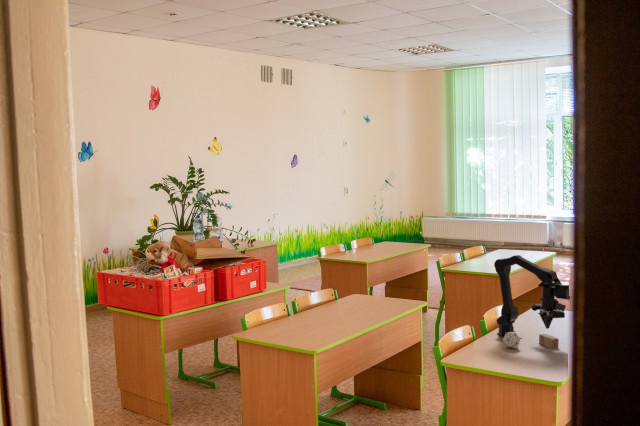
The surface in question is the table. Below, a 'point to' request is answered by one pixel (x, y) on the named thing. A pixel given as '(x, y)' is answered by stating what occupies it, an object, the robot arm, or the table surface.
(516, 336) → the game die
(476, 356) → the table surface
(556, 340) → the brown rectangular block
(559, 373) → the table surface
